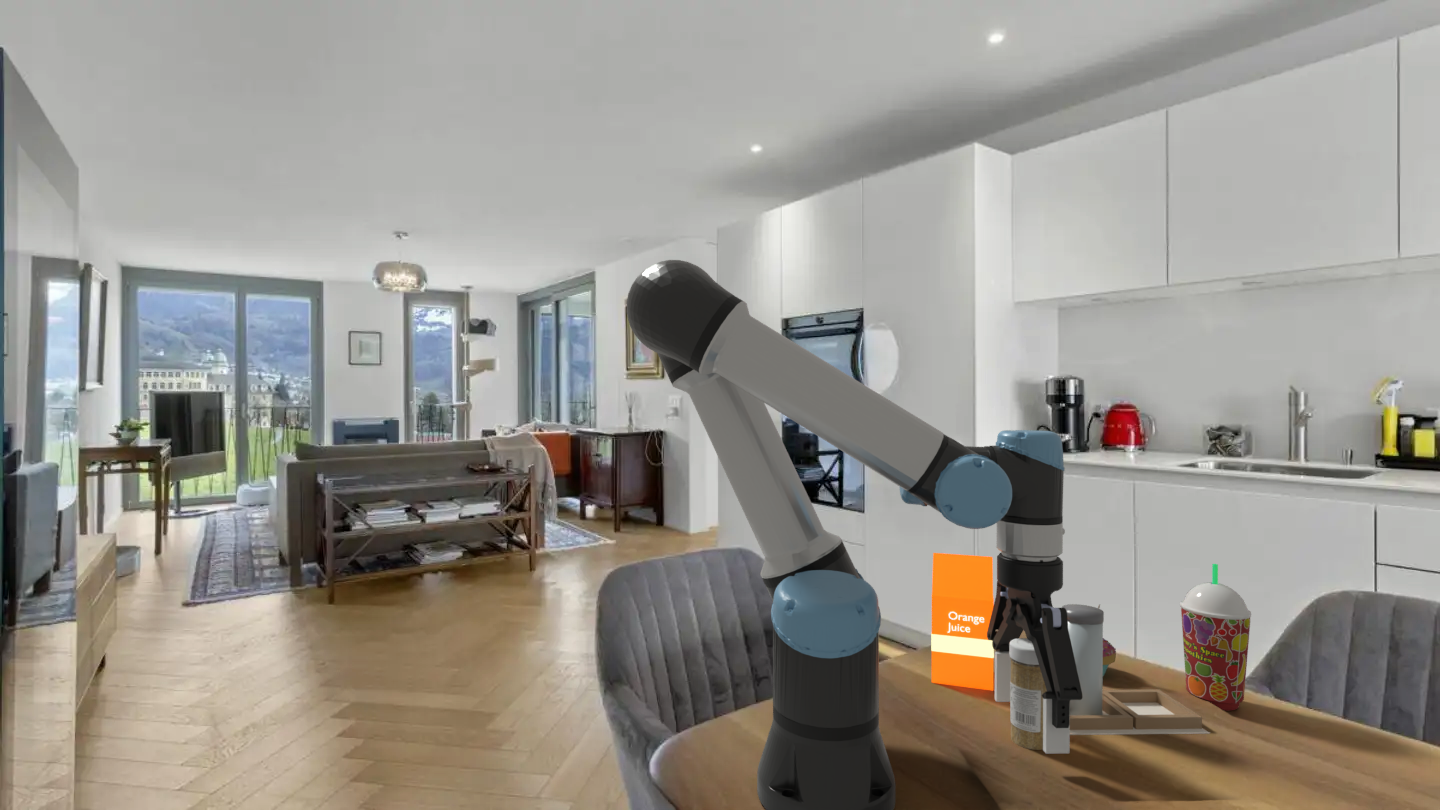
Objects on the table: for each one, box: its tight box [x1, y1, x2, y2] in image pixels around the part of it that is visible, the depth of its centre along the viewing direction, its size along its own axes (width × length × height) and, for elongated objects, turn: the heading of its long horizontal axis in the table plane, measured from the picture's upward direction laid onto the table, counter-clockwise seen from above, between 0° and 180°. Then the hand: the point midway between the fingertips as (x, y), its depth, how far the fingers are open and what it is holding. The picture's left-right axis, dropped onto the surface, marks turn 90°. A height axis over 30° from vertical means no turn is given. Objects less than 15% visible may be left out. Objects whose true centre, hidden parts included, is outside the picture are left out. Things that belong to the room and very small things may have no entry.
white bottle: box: [1061, 603, 1105, 716], centre depth 94 cm, size 5×5×14 cm
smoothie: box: [1179, 563, 1252, 712], centre depth 101 cm, size 8×8×20 cm
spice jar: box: [1009, 637, 1047, 751], centre depth 87 cm, size 5×5×14 cm
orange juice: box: [930, 552, 995, 692], centre depth 107 cm, size 8×9×20 cm
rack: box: [1070, 688, 1211, 736], centre depth 94 cm, size 18×11×3 cm, turn 91°
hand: (1028, 724), depth 87 cm, fingers open, 13 cm apart
